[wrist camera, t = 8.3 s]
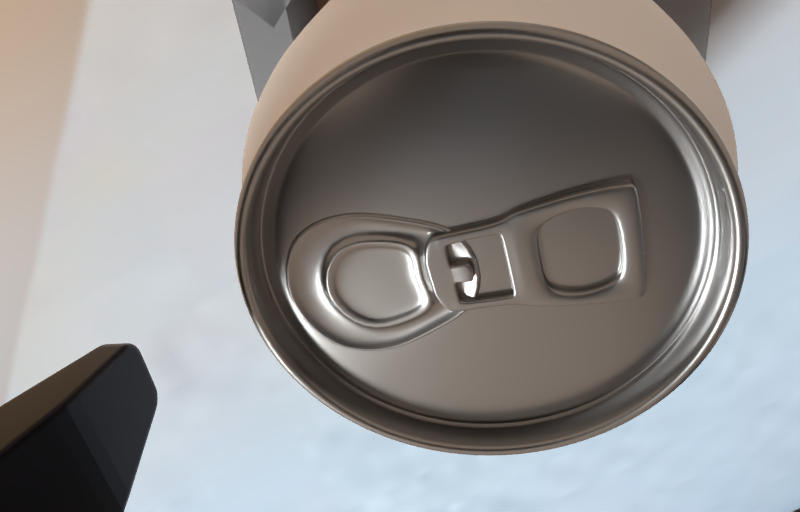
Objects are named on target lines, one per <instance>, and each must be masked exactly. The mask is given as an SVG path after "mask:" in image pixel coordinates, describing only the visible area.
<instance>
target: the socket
mask: <svg viewBox="0 0 800 512" xmlns="http://www.w3.org/2000/svg"><path fill="white" fill-rule="evenodd" d="M329 1H330V0H232V3H233V7H234V10H235V14H236V18H237V22H238V26H239V30H240V34H241V38H242V41H243V45H244V49H245V53H246V57H247V61H248V65H249V69H250V72H251V76H252V80H253V84H254V88H255V92H256V96H257V100H258V101H259V98H260V96H261V94H262V92H263V90H264V88H265V86H266V84H267V82H268V80H269V78H270V76H271V74H272V72H273V70H274V69H275V67H276V65H277V64H278V62H279V61H280V59H281V57H282V56H283V55H284V53H285V52H286V50H287V49H288V48H289V46H290V45H291V44H292V43H293V41H294V40H295V39H296V38H297V36H298V35H299V34H300V33H301V31H302V30H303V29H304V28H305V27H306V25H307V24H308V23H309V22H310V21H311V20H312V19H313V18H314V17H315V15H316V14H317V13H318V12H319V11H320V10H321V9H322V8H323V7H324V6H325V5H326V4H327V3H328V2H329ZM653 1H654V2H655V3H656V4H657V5H658V6H659V7H660V8H661V9H662V10H663V11H664V12H665V13H666V14H667V15H668V16H669V17H670V18H671V19H672V20H673V21H674V22H675V23H676V24H677V25H678V26H679V27H680V28H681V29H682V31H683V32H684V33H685V34H686V35H687V36H688V38H689V39H690V40H691V42H692V43H693V44H694V46H695V47H696V48H697V50H698V51H699V53H700V54H701V56H702V57H703V59H704V61H705V60H706V50H707V41H708V31H709V22H710V13H711V3H712V0H653Z"/></svg>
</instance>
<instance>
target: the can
mask: <svg viewBox="0 0 800 512" xmlns="http://www.w3.org/2000/svg"><path fill="white" fill-rule="evenodd" d="M234 246H235V260H236V268H237V274H238V279H239V283H240V287H241V291H242V294H243V297H244V300H245V303H246V306H247V308H248V311H249V313H250V316H251V318H252V320H253V322H254V324H255V326H256V328H257V330H258V332H259V334H260V335H261V337H262V339H263V340H264V342H265V343H266V345H267V347H268V348H269V349H270V351H271V352H272V354H273V355H274V356H275V358H276V359H277V360H278V361H279V363H280V364H281V365H282V366H283V367H284V369H285V370H286V371H287V372H288V373H289V374H290V375H291V376H292V377H293V378H294V379H295V380H296V381H297V382H298V383H299V384H300V385H301V386H302V387H303V388H304V389H306V390H307V391H308V392H309V393H310V394H311V395H313V396H314V397H315V398H316V399H318V400H319V401H320V402H322V403H323V404H325V405H326V406H327V407H329V408H330V409H332V410H333V411H335V412H336V413H338V414H340V415H341V416H343V417H345V418H346V419H348V420H350V421H352V422H354V423H356V424H358V425H360V426H362V427H364V428H366V429H368V430H370V431H373V432H375V433H377V434H380V435H382V436H385V437H388V438H390V439H393V440H396V441H399V442H402V443H406V444H409V445H413V446H417V447H421V448H426V449H430V450H436V451H441V452H448V453H457V454H468V455H512V454H523V453H531V452H537V451H544V450H549V449H554V448H558V447H562V446H566V445H570V444H573V443H577V442H580V441H583V440H586V439H589V438H592V437H595V436H597V435H600V434H602V433H605V432H607V431H609V430H612V429H614V428H616V427H618V426H620V425H622V424H624V423H626V422H628V421H630V420H632V419H633V418H635V417H637V416H638V415H640V414H642V413H643V412H645V411H647V410H648V409H650V408H651V407H653V406H654V405H655V404H657V403H658V402H660V401H661V400H662V399H664V398H665V397H666V396H668V395H669V394H670V393H671V392H672V391H674V390H675V389H676V388H677V387H678V386H679V385H680V384H681V383H683V382H684V381H685V380H686V379H687V378H688V377H689V376H690V375H691V374H692V373H693V371H694V370H695V369H696V368H697V367H698V366H699V365H700V364H701V362H702V361H703V360H704V359H705V358H706V356H707V355H708V354H709V352H710V351H711V350H712V348H713V347H714V345H715V344H716V342H717V341H718V339H719V337H720V336H721V334H722V333H723V331H724V329H725V327H726V325H727V323H728V321H729V319H730V317H731V315H732V313H733V311H734V308H735V306H736V303H737V300H738V297H739V294H740V291H741V288H742V284H743V281H744V276H745V271H746V265H747V259H748V248H749V227H748V215H747V208H746V202H745V198H744V193H743V189H742V186H741V182H740V179H739V176H738V162H737V149H736V142H735V135H734V131H733V126H732V122H731V118H730V115H729V111H728V108H727V106H726V103H725V100H724V97H723V95H722V93H721V90H720V88H719V86H718V84H717V82H716V80H715V78H714V76H713V74H712V73H711V71H710V69H709V68H708V66H707V64H706V62H705V61H704V59H703V57H702V56H701V54H700V53H699V51H698V50H697V48H696V47H695V46H694V44H693V43H692V42H691V40H690V39H689V38H688V36H687V35H686V34H685V33H684V32H683V31H682V29H681V28H680V27H679V26H678V25H677V24H676V23H675V22H674V21H673V20H672V19H671V18H670V17H669V16H668V15H667V14H666V13H665V12H664V11H663V10H662V9H661V8H660V7H659V6H658V5H657V4H656V3H655V2H654V1H653V0H330V1H329V2H328V3H327V4H326V5H325V6H324V7H323V8H322V9H321V10H320V11H319V12H318V13H317V14H316V15H315V17H314V18H313V19H312V20H311V21H310V22H309V23H308V24H307V25H306V27H305V28H304V29H303V30H302V31H301V33H300V34H299V35H298V36H297V38H296V39H295V40H294V41H293V43H292V44H291V45H290V46H289V48H288V49H287V50H286V52H285V53H284V55H283V56H282V57H281V59H280V61H279V62H278V64H277V65H276V67H275V69H274V70H273V72H272V74H271V76H270V78H269V80H268V82H267V84H266V86H265V88H264V90H263V92H262V94H261V96H260V98H259V101H258V103H257V105H256V108H255V111H254V113H253V116H252V119H251V123H250V126H249V130H248V134H247V138H246V143H245V149H244V156H243V167H242V190H241V193H240V197H239V202H238V207H237V213H236V221H235V234H234Z"/></svg>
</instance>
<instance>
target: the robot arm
mask: <svg viewBox="0 0 800 512" xmlns="http://www.w3.org/2000/svg"><path fill="white" fill-rule="evenodd" d="M156 407H157V390H156V387H155V385H154V382H153V380H152V378H151V375H150V373H149V371H148V369H147V366H146V364H145V362H144V360H143V357H142V355H141V353H140V351H139V349H138V348H137V347H136V346H135V345H133V344H129V343H124V344H105V345H102V346H100V347H98V348H96V349H94V350H93V351H91V352H89V353H88V354H86V355H84V356H83V357H81V358H80V359H78V360H76V361H75V362H73V363H71V364H70V365H68V366H66V367H65V368H63V369H61V370H60V371H58V372H56V373H55V374H53V375H52V376H50V377H48V378H47V379H45V380H43V381H42V382H40V383H38V384H37V385H35V386H33V387H32V388H30V389H28V390H27V391H25V392H23V393H22V394H20V395H19V396H17V397H15V398H14V399H12V400H10V401H9V402H7V403H5V404H4V405H2V406H1V407H0V512H124V509H125V506H126V503H127V501H128V498H129V495H130V492H131V488H132V485H133V482H134V479H135V476H136V472H137V469H138V466H139V463H140V459H141V456H142V453H143V450H144V446H145V443H146V440H147V437H148V433H149V430H150V427H151V424H152V421H153V417H154V414H155V411H156Z"/></svg>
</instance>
